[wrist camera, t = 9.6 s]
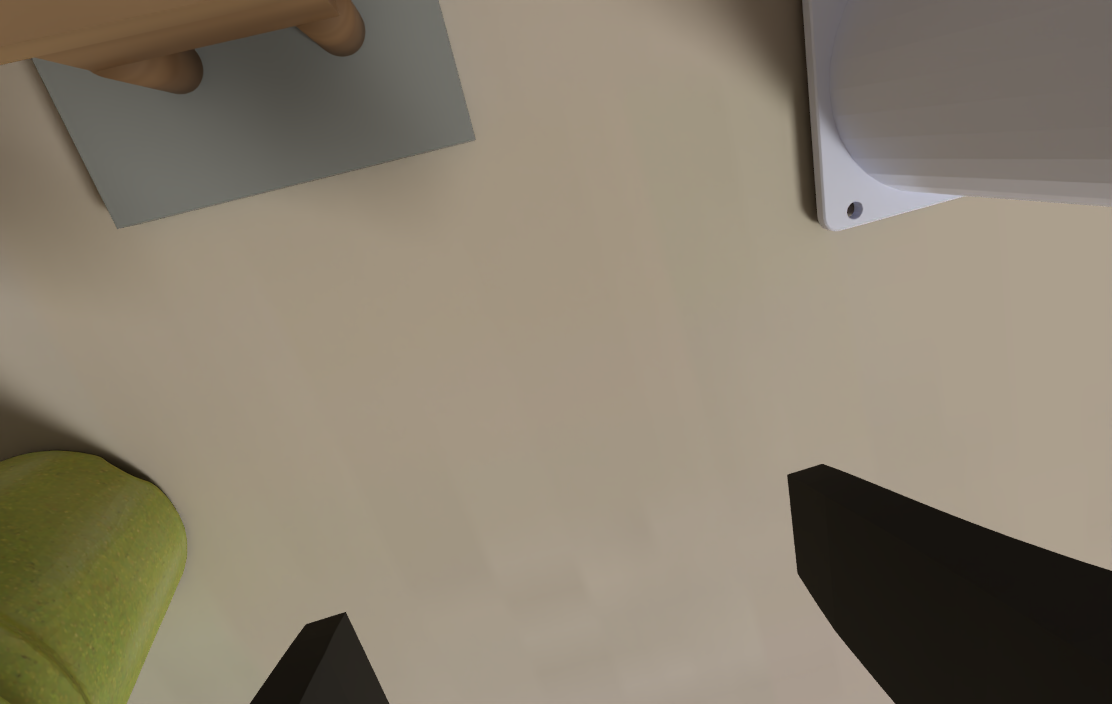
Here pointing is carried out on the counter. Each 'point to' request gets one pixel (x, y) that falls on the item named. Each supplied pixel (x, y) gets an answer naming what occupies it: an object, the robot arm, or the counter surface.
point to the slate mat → (266, 114)
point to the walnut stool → (162, 33)
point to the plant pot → (81, 577)
